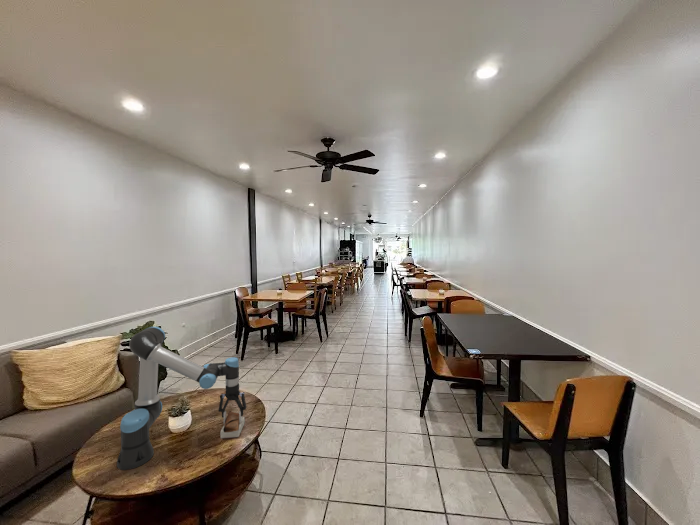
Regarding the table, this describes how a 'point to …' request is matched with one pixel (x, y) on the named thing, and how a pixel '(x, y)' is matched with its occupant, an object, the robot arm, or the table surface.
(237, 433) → the block
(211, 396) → the table surface
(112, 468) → the table surface
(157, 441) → the table surface
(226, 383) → the robot arm
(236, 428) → the sunglasses case
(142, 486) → the table surface
